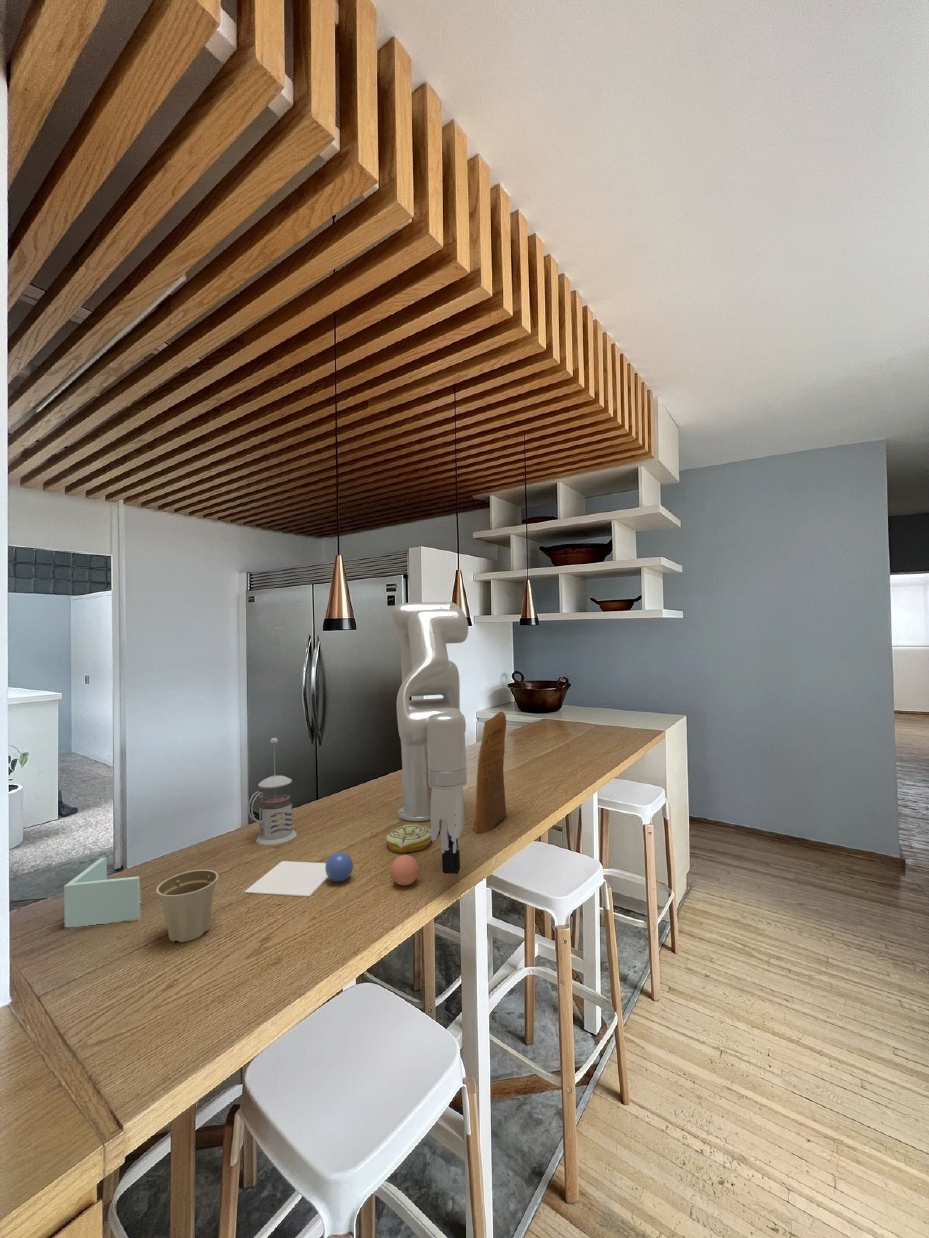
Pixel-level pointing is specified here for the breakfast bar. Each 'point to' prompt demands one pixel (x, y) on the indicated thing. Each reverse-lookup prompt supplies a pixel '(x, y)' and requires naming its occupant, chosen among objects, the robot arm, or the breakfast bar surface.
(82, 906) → the right angle wall
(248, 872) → the breakfast bar surface
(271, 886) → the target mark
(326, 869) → the blue ball
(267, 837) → the french press
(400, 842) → the decorated donut
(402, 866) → the pink smooth round ball
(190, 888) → the flower pot
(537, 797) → the breakfast bar surface
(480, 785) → the pancake mix bag
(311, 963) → the breakfast bar surface
